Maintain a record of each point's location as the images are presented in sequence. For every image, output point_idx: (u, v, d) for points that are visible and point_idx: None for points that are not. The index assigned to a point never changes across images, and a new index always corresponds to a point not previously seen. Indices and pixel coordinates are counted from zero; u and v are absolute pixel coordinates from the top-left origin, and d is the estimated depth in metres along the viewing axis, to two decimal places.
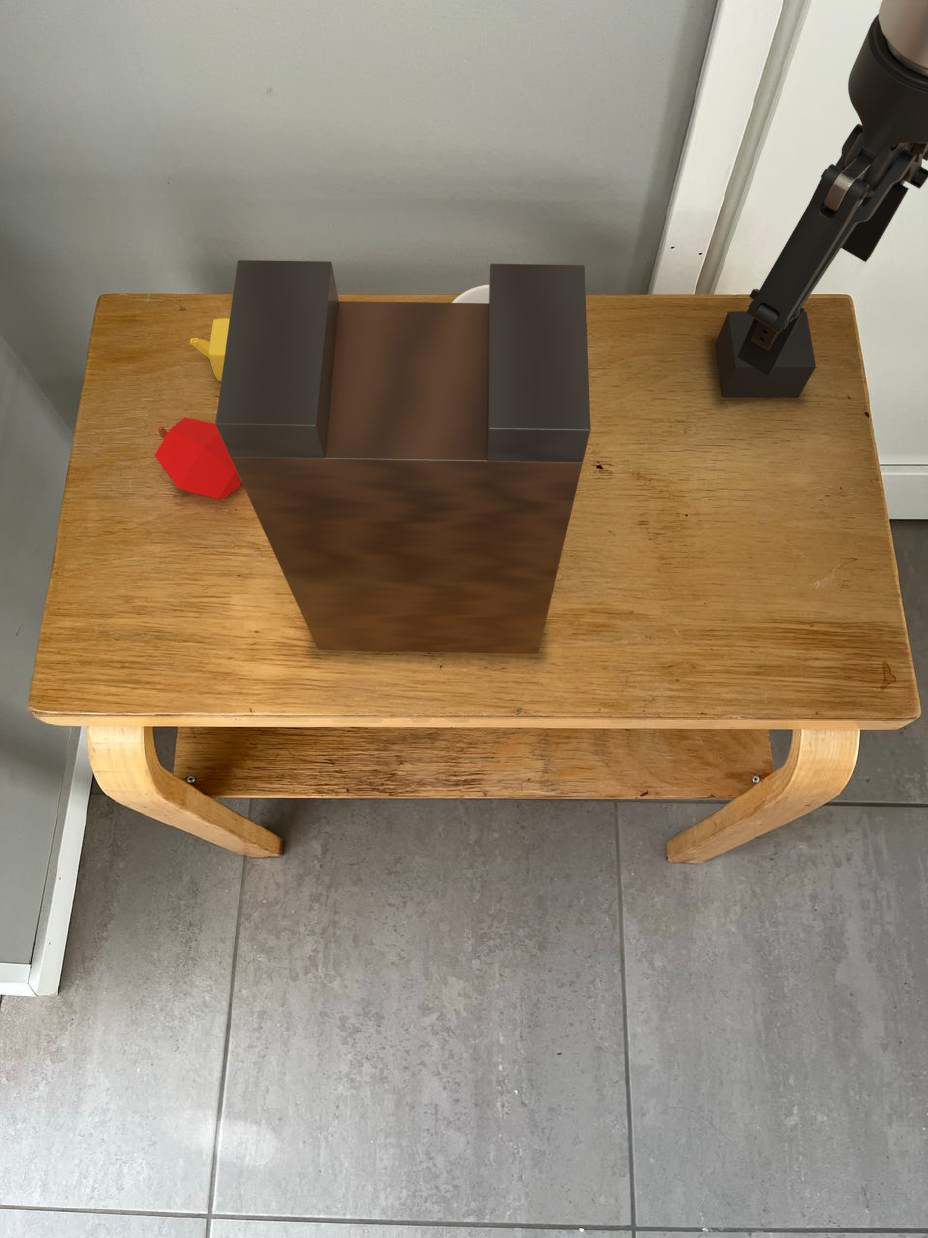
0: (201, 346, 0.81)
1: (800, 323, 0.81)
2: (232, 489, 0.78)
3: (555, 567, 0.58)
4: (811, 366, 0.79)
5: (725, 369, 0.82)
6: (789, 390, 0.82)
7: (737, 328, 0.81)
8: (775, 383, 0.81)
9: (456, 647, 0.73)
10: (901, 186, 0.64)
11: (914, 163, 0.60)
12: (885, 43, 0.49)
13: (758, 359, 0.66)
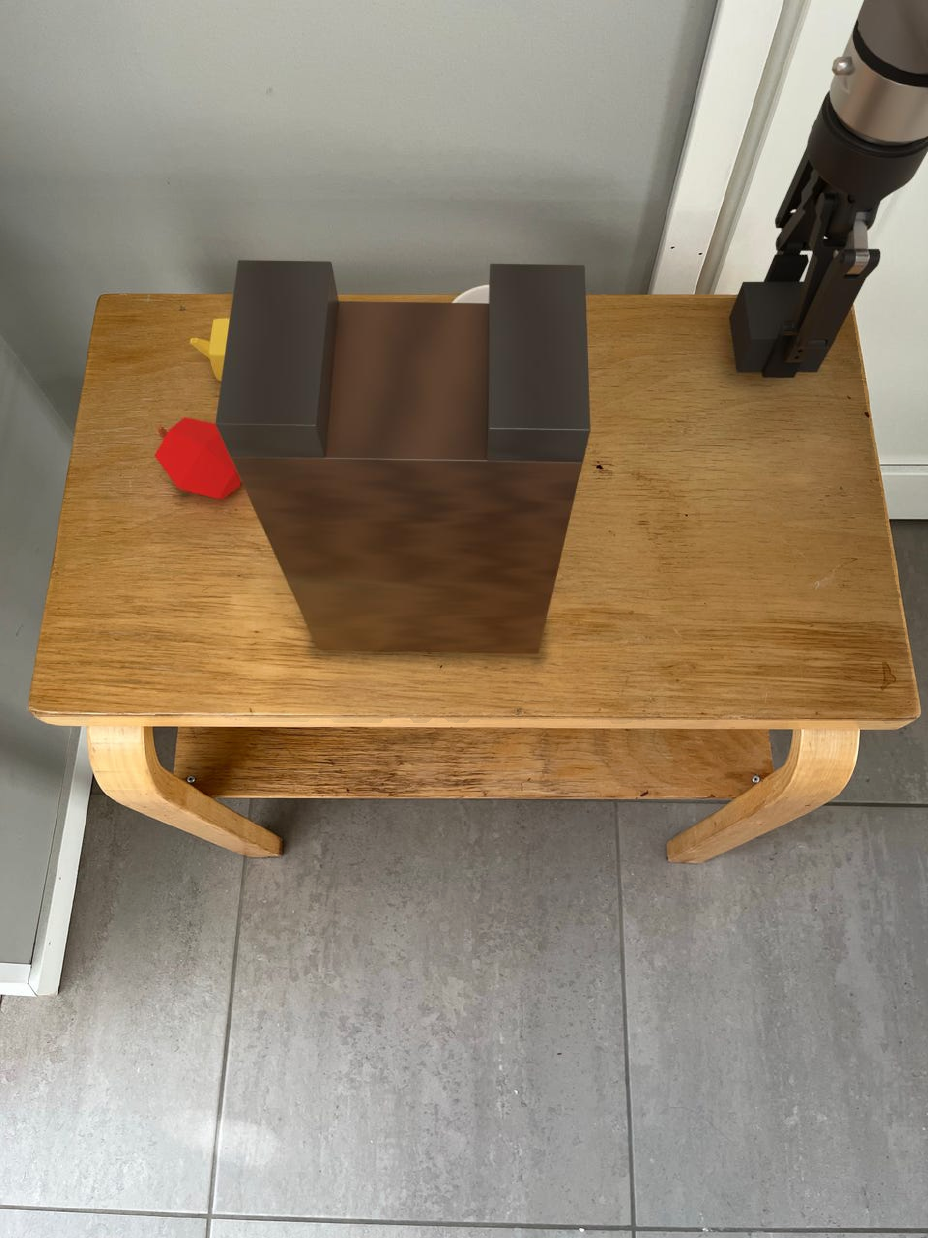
0: (201, 346, 0.81)
1: None
2: (232, 489, 0.78)
3: (555, 567, 0.58)
4: None
5: (740, 343, 0.78)
6: (807, 364, 0.78)
7: (752, 298, 0.77)
8: None
9: (456, 647, 0.73)
10: (801, 255, 0.75)
11: None
12: (854, 136, 0.58)
13: (783, 370, 0.78)
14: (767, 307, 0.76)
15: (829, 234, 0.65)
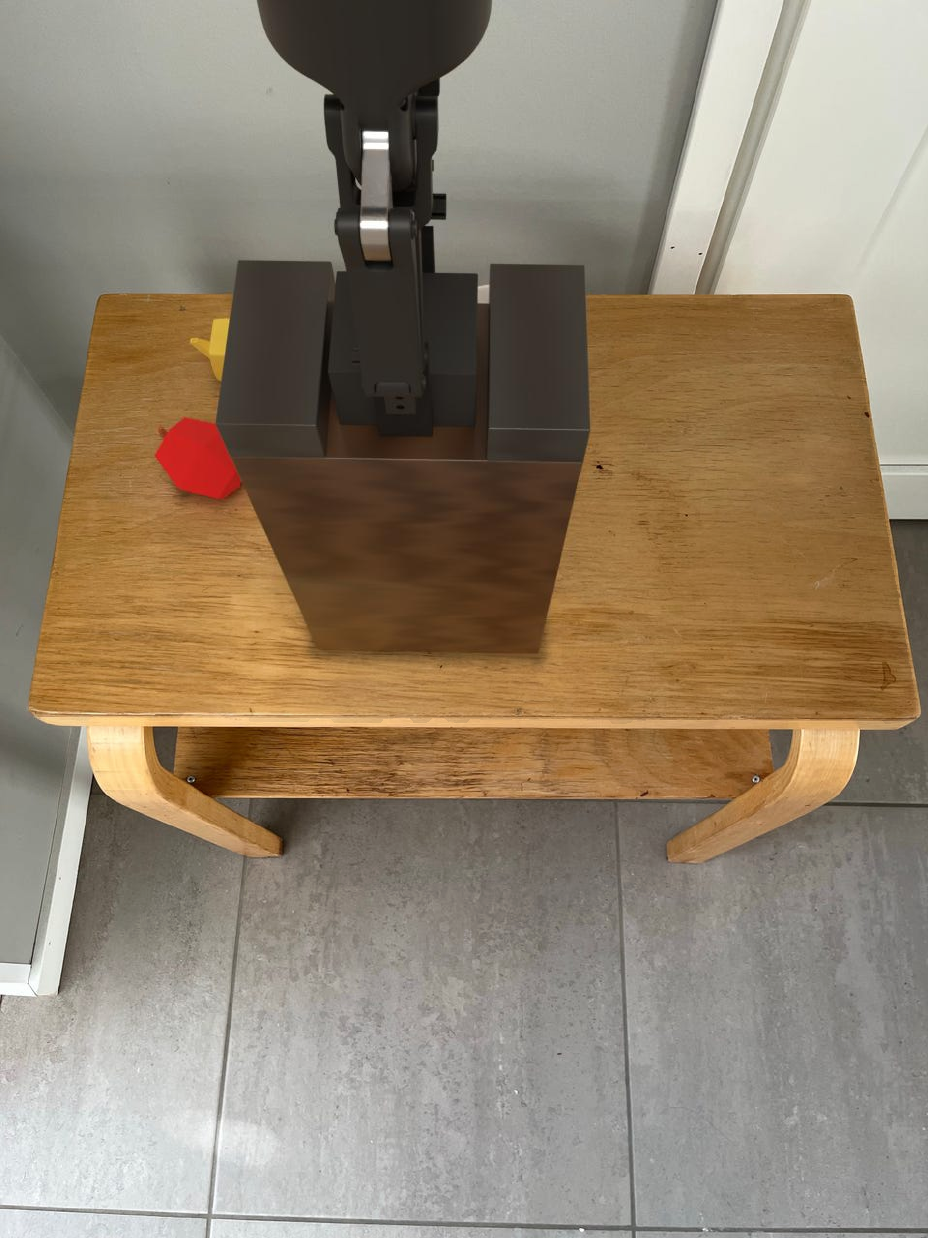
0: (201, 346, 0.81)
1: (462, 294, 0.45)
2: (232, 489, 0.78)
3: (555, 567, 0.58)
4: (466, 372, 0.43)
5: None
6: (451, 415, 0.46)
7: (346, 300, 0.44)
8: None
9: (456, 647, 0.73)
10: (422, 228, 0.43)
11: None
12: None
13: (408, 425, 0.46)
14: None
15: (358, 181, 0.33)
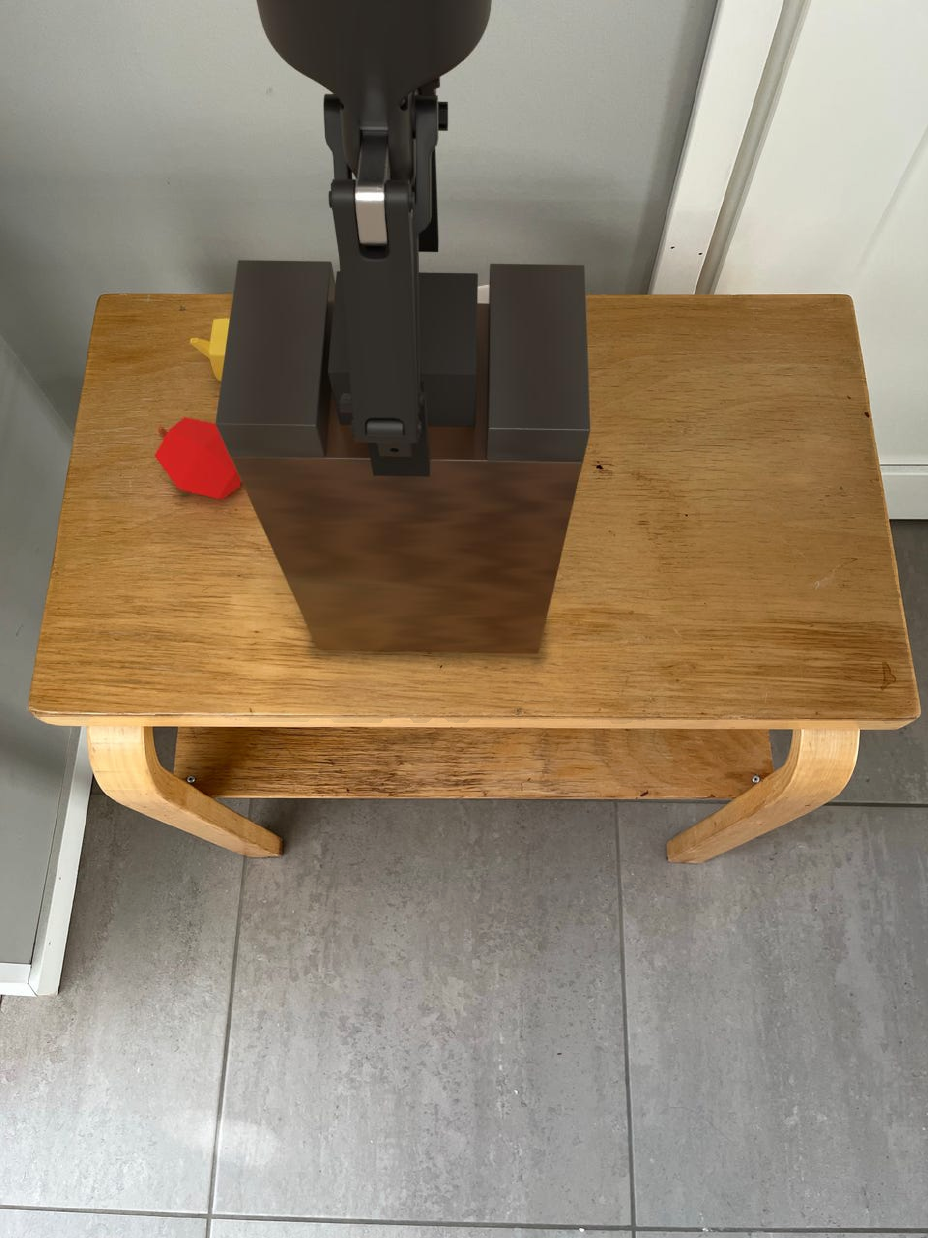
0: (201, 346, 0.81)
1: (462, 294, 0.45)
2: (232, 489, 0.78)
3: (555, 567, 0.58)
4: (466, 372, 0.43)
5: None
6: (451, 415, 0.46)
7: None
8: None
9: (456, 647, 0.73)
10: None
11: None
12: None
13: (403, 465, 0.43)
14: None
15: None
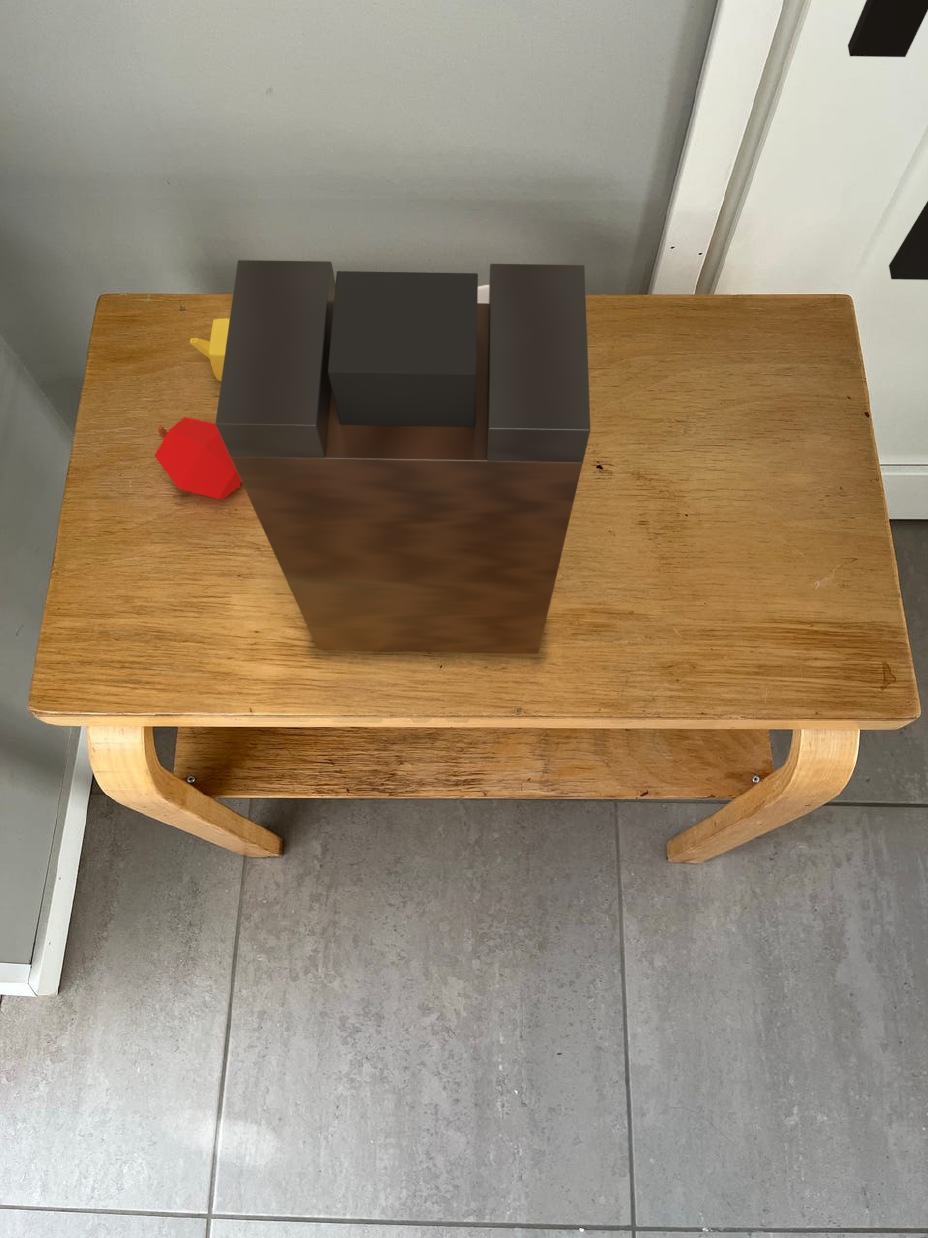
0: (201, 346, 0.81)
1: (462, 294, 0.45)
2: (232, 489, 0.78)
3: (555, 567, 0.58)
4: (466, 372, 0.43)
5: None
6: (451, 415, 0.46)
7: (346, 301, 0.45)
8: (420, 403, 0.45)
9: (456, 647, 0.73)
10: None
11: None
12: None
13: None
14: (368, 316, 0.44)
15: None
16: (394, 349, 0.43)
